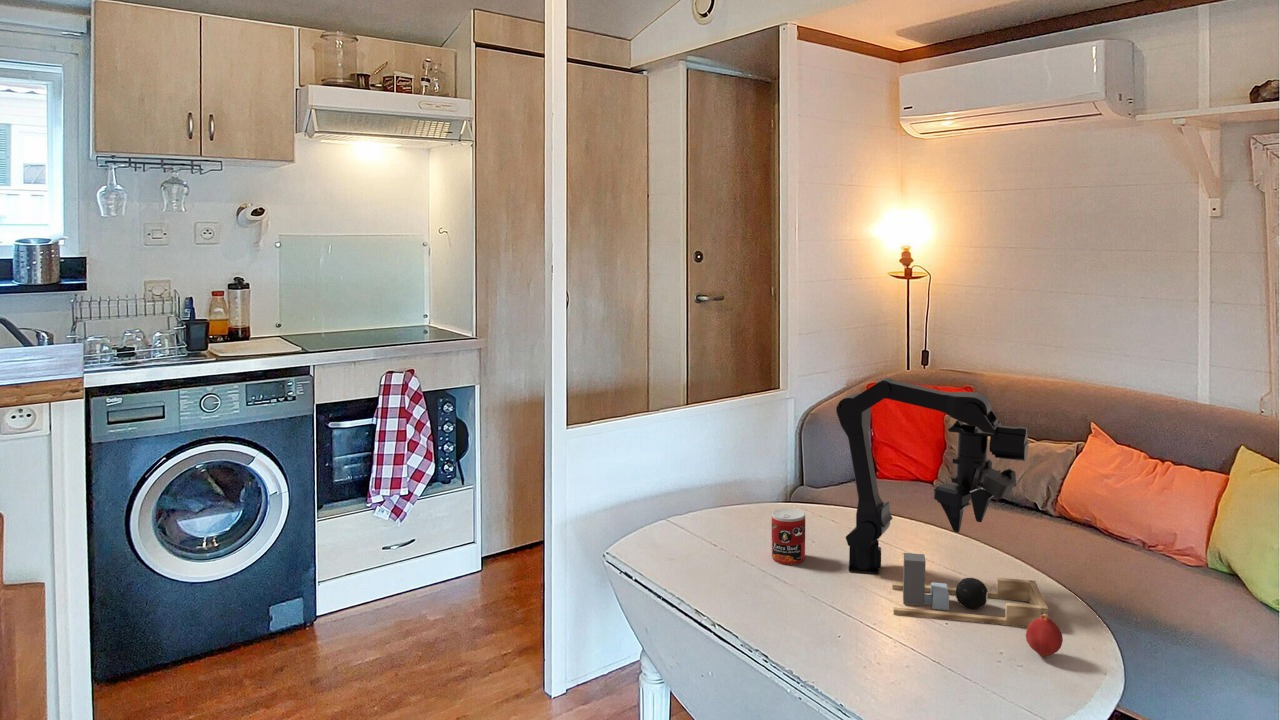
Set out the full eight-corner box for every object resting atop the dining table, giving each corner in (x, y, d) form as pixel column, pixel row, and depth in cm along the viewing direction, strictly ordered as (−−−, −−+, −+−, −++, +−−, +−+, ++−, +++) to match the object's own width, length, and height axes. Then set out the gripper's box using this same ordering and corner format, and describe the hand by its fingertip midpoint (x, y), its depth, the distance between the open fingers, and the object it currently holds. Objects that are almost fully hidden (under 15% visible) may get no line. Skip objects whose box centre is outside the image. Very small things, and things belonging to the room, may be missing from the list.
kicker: (903, 606, 166) (904, 561, 165) (902, 593, 172) (903, 551, 171) (948, 610, 164) (949, 565, 163) (946, 597, 170) (947, 554, 169)
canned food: (768, 562, 191) (768, 517, 190) (775, 550, 198) (776, 506, 197) (801, 567, 188) (801, 520, 187) (808, 554, 196) (808, 509, 194)
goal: (1005, 625, 158) (1006, 605, 157) (996, 596, 171) (996, 577, 170) (1047, 629, 156) (1048, 609, 156) (1034, 599, 169) (1035, 580, 168)
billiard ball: (984, 616, 162) (985, 587, 161) (952, 610, 165) (953, 581, 164) (989, 605, 167) (990, 576, 166) (958, 598, 170) (959, 571, 169)
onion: (1028, 645, 150) (1030, 603, 149) (1063, 653, 147) (1066, 611, 146) (1022, 659, 145) (1024, 616, 144) (1058, 668, 142) (1061, 624, 141)
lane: (893, 614, 164) (893, 609, 163) (892, 587, 176) (892, 582, 176) (1005, 625, 158) (1006, 620, 158) (996, 596, 171) (996, 591, 171)
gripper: (986, 471, 159) (982, 548, 161) (1032, 454, 171) (1027, 526, 173) (933, 459, 167) (930, 533, 170) (980, 444, 179) (976, 513, 182)
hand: (967, 526), depth 173 cm, fingers open, 9 cm apart
